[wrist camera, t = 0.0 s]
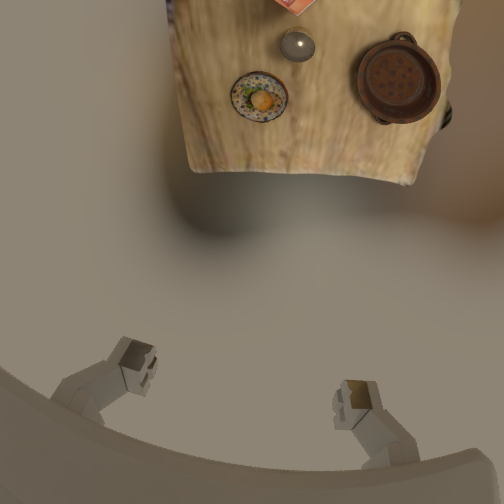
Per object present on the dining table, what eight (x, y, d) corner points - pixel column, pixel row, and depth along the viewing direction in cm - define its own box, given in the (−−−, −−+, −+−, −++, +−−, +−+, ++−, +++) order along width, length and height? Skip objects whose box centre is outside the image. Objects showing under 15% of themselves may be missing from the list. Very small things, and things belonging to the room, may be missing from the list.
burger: (224, 78, 50) (214, 91, 46) (279, 65, 46) (275, 75, 42) (243, 124, 59) (237, 140, 55) (294, 114, 55) (292, 130, 51)
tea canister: (279, 30, 39) (274, 37, 34) (307, 23, 37) (308, 28, 32) (289, 54, 43) (287, 65, 38) (317, 48, 41) (319, 58, 36)
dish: (442, 45, 32) (453, 51, 29) (417, 130, 50) (424, 141, 47) (361, 18, 34) (366, 20, 31) (345, 112, 52) (348, 122, 49)
